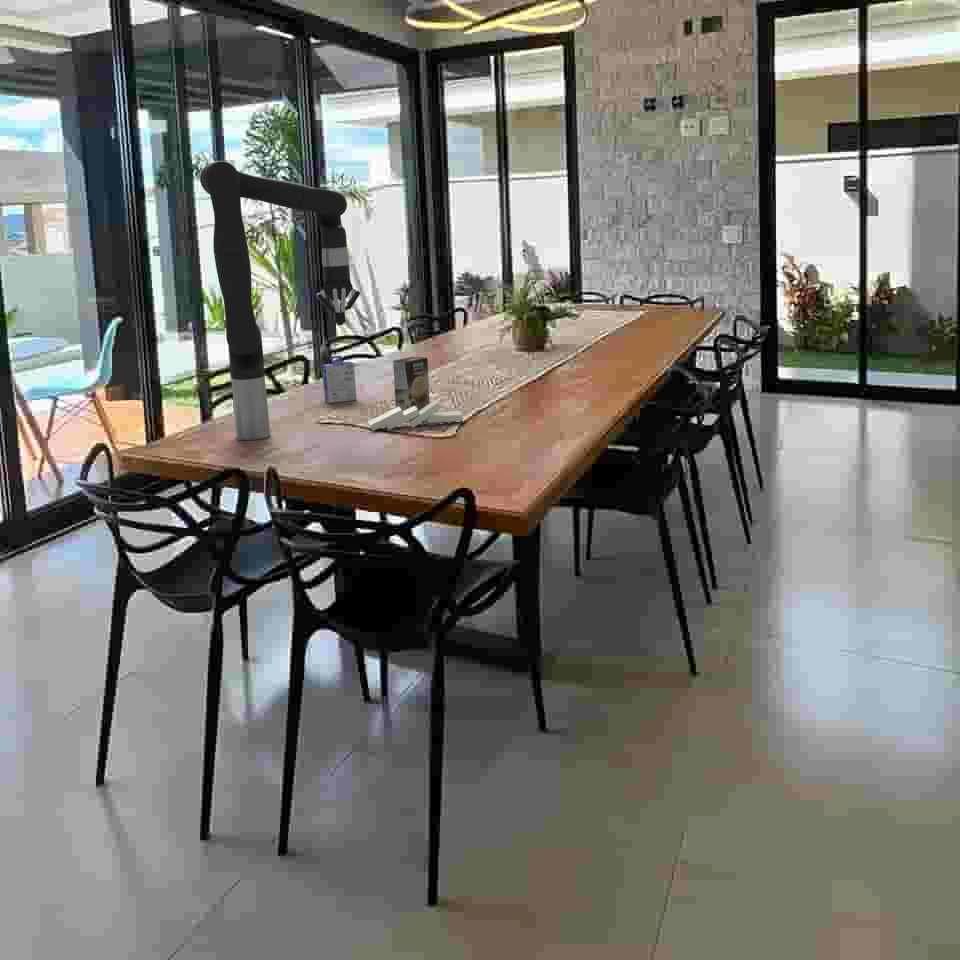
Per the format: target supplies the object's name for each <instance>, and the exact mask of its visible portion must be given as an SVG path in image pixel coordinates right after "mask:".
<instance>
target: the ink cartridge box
mask: <svg viewBox="0 0 960 960" xmlns="http://www.w3.org/2000/svg"><path fill="white" fill-rule="evenodd" d="M335 359H336V360H335ZM330 362H331V363H327V364H321V373H322V384H323V393H324V394H323V395H324V401H325V403H328V404H333V403H342V402H349V401H356V400H357V387H356V376H355V374H356V373H355V363H354V362H352V361H343V358H342V356H341V355H333V356H330Z"/></svg>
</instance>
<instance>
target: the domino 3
mask: <svg viewBox="0 0 960 960" xmlns="http://www.w3.org/2000/svg"><path fill="white" fill-rule="evenodd" d="M441 408H442V406H441V405H440V403H439V402H438V401H437V399H434V400H432V401H430V404H428V405H427V406H425V407H424V408H423V409H421V410H420V411H419V413H420V415H418V416H416V417H414V418H412V419H410V420H408V421H407V422H408V423H409V425H410V426H411V427H412V429H413V428H415V427H416V426H418V425H419V424H420V423H422V422H424V420H425V419H426V418H427V417H429V416H430V415H432V414H433V413H436V412H437V411H439V410H440V409H441Z"/></svg>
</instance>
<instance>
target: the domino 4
mask: <svg viewBox="0 0 960 960" xmlns="http://www.w3.org/2000/svg"><path fill="white" fill-rule="evenodd" d="M426 420H427V422H428V423H433V422H451V421H462V422H463V414H462V412H461V411H460V410H458V411H457V410H455V411H454V410H453V411H442V412H437V411H436V412H434V413H433V414H432V415H430V416H429V417H427V418H426Z"/></svg>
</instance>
